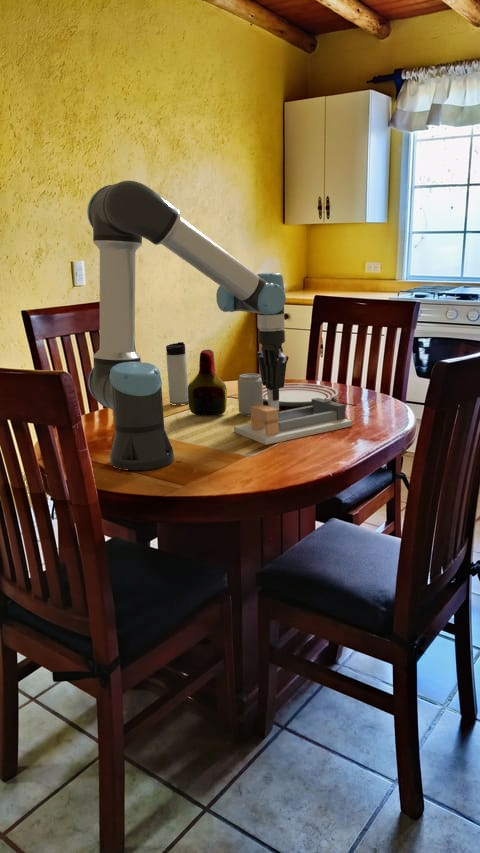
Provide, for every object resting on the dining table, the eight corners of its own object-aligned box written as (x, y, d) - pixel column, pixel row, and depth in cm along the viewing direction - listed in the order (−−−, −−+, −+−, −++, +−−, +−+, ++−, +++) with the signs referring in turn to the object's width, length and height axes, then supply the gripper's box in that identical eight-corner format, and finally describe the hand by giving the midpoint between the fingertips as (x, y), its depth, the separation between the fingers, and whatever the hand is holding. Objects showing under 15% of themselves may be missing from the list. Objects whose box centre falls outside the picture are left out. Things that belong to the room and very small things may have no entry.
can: (261, 416, 199) (259, 377, 196) (236, 416, 201) (234, 377, 198) (265, 410, 206) (264, 372, 203) (241, 410, 208) (240, 372, 205)
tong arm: (264, 424, 183) (263, 416, 182) (261, 423, 184) (260, 415, 184) (313, 414, 191) (313, 406, 191) (310, 413, 193) (310, 405, 192)
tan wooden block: (267, 434, 173) (266, 411, 171) (251, 428, 179) (250, 406, 178) (278, 432, 174) (277, 409, 173) (262, 426, 181) (261, 404, 179)
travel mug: (193, 402, 222) (189, 342, 217) (181, 406, 216) (177, 345, 211) (178, 401, 225) (174, 341, 220) (166, 405, 220) (161, 344, 215)
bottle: (230, 412, 206) (226, 348, 201) (224, 417, 200) (221, 351, 195) (192, 412, 208) (189, 348, 203) (186, 417, 202) (182, 351, 197)
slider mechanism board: (265, 444, 170) (265, 420, 169) (234, 431, 184) (232, 408, 182) (352, 426, 184) (352, 403, 183) (316, 415, 198) (316, 393, 196)
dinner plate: (350, 395, 223) (350, 385, 222) (316, 413, 201) (316, 403, 200) (278, 389, 237) (277, 380, 236) (238, 406, 215) (237, 396, 214)
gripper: (295, 329, 184) (297, 413, 190) (269, 326, 195) (271, 405, 201) (273, 332, 180) (275, 417, 186) (247, 328, 191) (250, 409, 197)
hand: (273, 410), depth 193 cm, fingers closed
